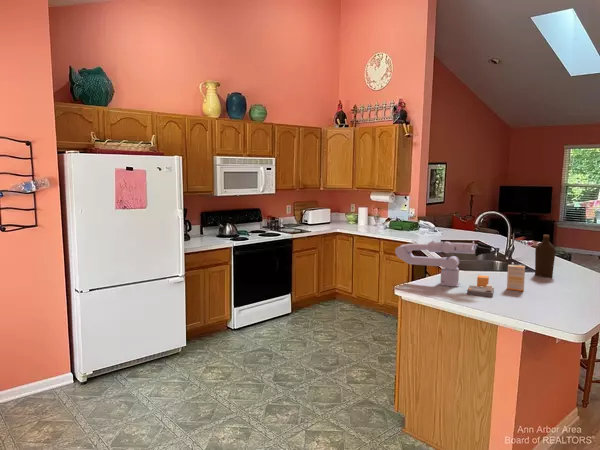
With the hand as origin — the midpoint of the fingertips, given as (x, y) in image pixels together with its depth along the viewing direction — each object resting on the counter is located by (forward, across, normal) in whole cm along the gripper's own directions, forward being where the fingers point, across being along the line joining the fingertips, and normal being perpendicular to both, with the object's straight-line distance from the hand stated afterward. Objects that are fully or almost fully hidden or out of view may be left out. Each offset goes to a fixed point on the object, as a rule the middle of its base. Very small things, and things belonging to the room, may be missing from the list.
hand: (491, 249), depth 231 cm
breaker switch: (0, -13, +19) cm, 23 cm away
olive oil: (+26, +48, +25) cm, 60 cm away
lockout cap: (-4, +1, +22) cm, 22 cm away
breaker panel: (-4, -11, +21) cm, 24 cm away
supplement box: (+12, +4, +22) cm, 26 cm away
